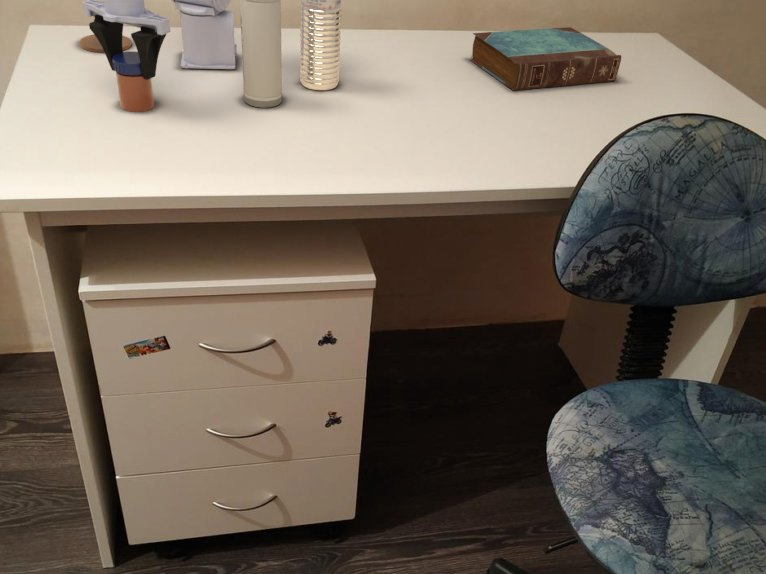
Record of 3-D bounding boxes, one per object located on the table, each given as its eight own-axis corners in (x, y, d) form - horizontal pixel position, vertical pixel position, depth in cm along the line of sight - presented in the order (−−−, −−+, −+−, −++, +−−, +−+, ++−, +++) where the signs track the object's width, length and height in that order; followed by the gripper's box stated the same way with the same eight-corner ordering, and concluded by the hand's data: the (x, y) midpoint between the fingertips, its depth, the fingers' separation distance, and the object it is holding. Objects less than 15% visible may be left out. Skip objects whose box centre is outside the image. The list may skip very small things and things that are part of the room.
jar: (155, 99, 131) (150, 56, 126) (153, 112, 127) (148, 67, 122) (122, 99, 130) (115, 55, 125) (119, 111, 126) (112, 67, 121)
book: (514, 91, 146) (519, 63, 143) (468, 59, 158) (471, 32, 155) (615, 82, 154) (622, 55, 151) (564, 52, 166) (569, 26, 163)
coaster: (133, 37, 153) (133, 34, 152) (129, 53, 146) (128, 50, 146) (83, 36, 151) (83, 32, 151) (77, 52, 144) (76, 48, 144)
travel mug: (288, 97, 136) (288, -33, 123) (272, 111, 131) (269, -23, 118) (255, 90, 137) (251, -39, 124) (237, 103, 132) (231, -30, 119)
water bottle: (291, 82, 141) (291, -79, 125) (320, 74, 145) (323, -83, 129) (318, 94, 138) (321, -70, 122) (346, 86, 142) (353, -74, 126)
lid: (134, 59, 128) (133, 48, 126) (160, 69, 125) (158, 58, 124) (105, 68, 124) (103, 56, 123) (130, 78, 121) (129, 66, 120)
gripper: (62, -27, 115) (78, 70, 124) (144, -7, 111) (155, 91, 120) (95, -35, 120) (109, 57, 129) (175, -17, 116) (183, 77, 125)
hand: (133, 73), depth 125 cm, fingers closed on lid, 5 cm apart
